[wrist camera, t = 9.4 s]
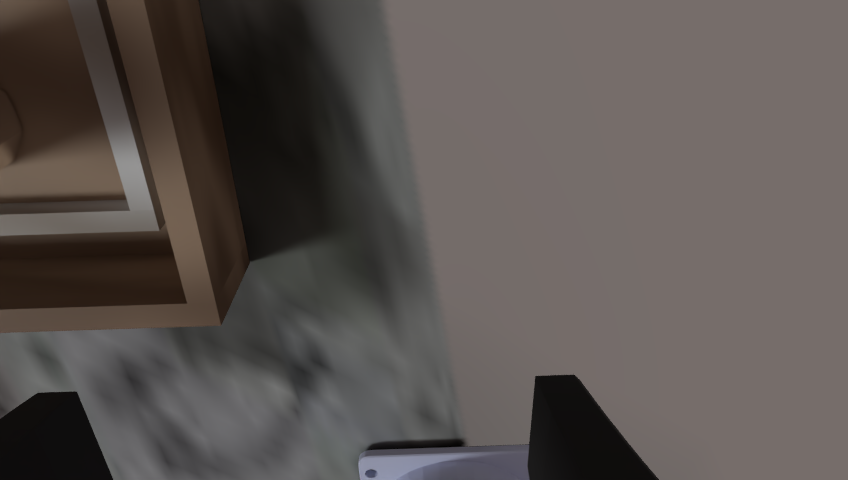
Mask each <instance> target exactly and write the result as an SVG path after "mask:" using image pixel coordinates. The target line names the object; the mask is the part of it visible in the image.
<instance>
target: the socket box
mask: <svg viewBox="0 0 848 480" xmlns="http://www.w3.org/2000/svg"><path fill="white" fill-rule="evenodd" d="M0 89H1V90H3V91H4V92H5V93H7V94H8V96H9V98H10V101H11V103H12V105H13V108H14V110H15V112H16V114H17V117H18V119H19V121H20V123H21V125H22V128H23V131H22V135H21V139H20V142H19V146H18V150H17V153H16V157H15V159H14V160H13V161H12V162H11V163H9V164H8V165H7V166H6V167H4V168H3V169H2V170H1V171H0V333H10V332H40V331H70V330H101V329H131V328H162V327H192V326H221V325H222V322H223V320H224V318H225V316H226V314H227V312H228V309H229V307H230V305H231V303H232V301H233V298H234V296H235V294H236V292H237V290H238V287H239V285H240V283H241V281H242V279H243V276H244V274H245V272H246V270H247V268H248V265H249V263H250V261H249V256H248V251H247V246H246V241H245V236H244V230H243V225H242V220H241V215H240V210H239V205H238V200H237V195H236V190H235V184H234V179H233V174H232V169H231V164H230V159H229V154H228V149H227V144H226V138H225V133H224V128H223V123H222V118H221V113H220V108H219V103H218V98H217V92H216V87H215V82H214V77H213V72H212V67H211V62H210V57H209V52H208V46H207V41H206V36H205V31H204V26H203V21H202V16H201V11H200V6H199V0H0Z"/></svg>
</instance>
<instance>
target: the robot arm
mask: <svg viewBox="0 0 848 480" xmlns="http://www.w3.org/2000/svg"><path fill="white" fill-rule="evenodd" d="M358 465H359V474H360V480H659V479H658V478H657V477H656V476H655V475H654V473H653V472H652V471H651V470H650V469H649V468H648V466H647V465H646V464H645V463H644V462H643V461H642V459H641V458H640V457H639V456H638V454H637V453H636V452H635V451H634V450H633V448H632V447H631V446H630V445H629V444H628V442H627V441H626V440H625V439H624V437H623V436H622V435H621V433H620V432H619V431H618V430H617V428H616V427H615V426H614V425H613V423H612V422H611V421H610V420H609V418H608V417H607V416H606V414H605V413H604V412H603V410H602V409H601V408H600V406H599V405H598V404H597V402H596V401H595V400H594V398H593V397H592V396H591V394H590V393H589V392H588V390H587V389H586V388H585V386H584V385H583V384H582V382H581V381H580V380H579V379H578V378H577V377H576V376H575V375H552V376H536V377H535V388H534V399H533V409H532V420H531V432H530V442H529V444H528V445H503V446H502V445H500V446H470V447H442V448H413V449H384V450H367V451H365V452H363V453H361V455H360V456H359V464H358ZM370 469H372V470H370ZM0 480H113V478H112V476H111V473H110V471H109V468H108V466H107V464H106V461H105V459H104V456H103V454H102V451H101V449H100V447H99V444H98V442H97V439H96V437H95V435H94V432H93V430H92V427H91V425H90V423H89V420H88V418H87V415H86V413H85V410H84V408H83V406H82V403H81V401H80V398H79V396H78V394H77V392H49V393H37V394H35V395H34V396H32V397H31V398H29V399H28V400H27V401H25V402H24V403H22V404H21V405H19V406H18V407H16V408H15V409H14V410H12V411H11V412H9V413H8V414H7V415H5V416H4V417H3V418H1V419H0Z"/></svg>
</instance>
